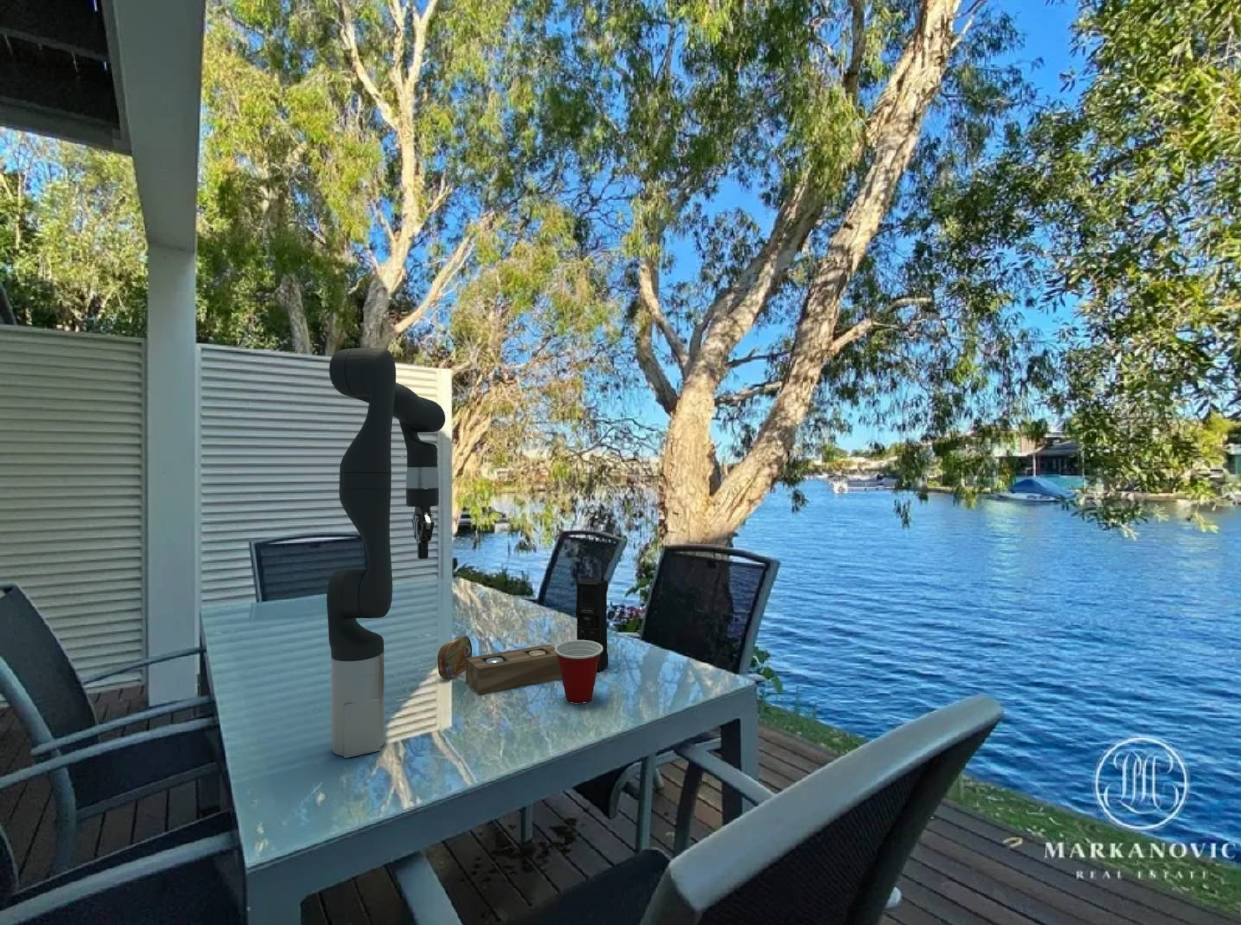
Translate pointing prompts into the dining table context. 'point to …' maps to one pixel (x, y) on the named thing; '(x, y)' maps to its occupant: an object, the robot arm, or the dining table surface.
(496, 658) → the steel peg
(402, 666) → the dining table surface
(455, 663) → the tin
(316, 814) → the dining table surface
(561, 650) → the plastic cup
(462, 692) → the dining table surface
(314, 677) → the dining table surface
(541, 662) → the collar block
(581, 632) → the portable radio
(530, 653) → the birch peg
